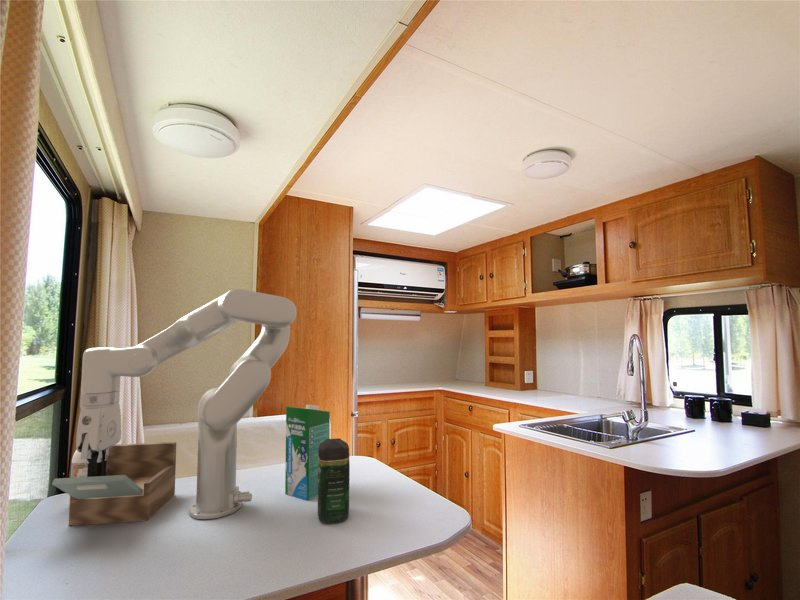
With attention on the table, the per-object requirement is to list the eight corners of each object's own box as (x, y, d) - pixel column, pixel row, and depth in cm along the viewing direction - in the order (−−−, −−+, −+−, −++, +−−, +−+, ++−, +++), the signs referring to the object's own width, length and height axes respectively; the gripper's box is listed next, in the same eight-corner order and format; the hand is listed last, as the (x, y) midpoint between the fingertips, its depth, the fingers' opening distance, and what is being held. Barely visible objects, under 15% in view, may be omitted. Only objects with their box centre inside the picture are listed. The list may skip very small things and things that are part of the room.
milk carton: (329, 489, 119) (330, 403, 121) (307, 500, 111) (308, 408, 113) (307, 484, 124) (308, 401, 126) (284, 494, 116) (285, 405, 118)
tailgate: (143, 489, 102) (125, 474, 93) (140, 497, 100) (122, 483, 92) (78, 493, 100) (54, 478, 91) (75, 501, 98) (50, 487, 90)
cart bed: (174, 495, 116) (176, 441, 118) (147, 520, 101) (150, 458, 102) (106, 499, 114) (109, 444, 115) (68, 525, 98) (71, 462, 99)
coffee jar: (351, 522, 98) (351, 444, 100) (318, 526, 96) (318, 447, 98) (347, 506, 107) (347, 435, 109) (317, 509, 106) (317, 437, 107)
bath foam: (67, 509, 108) (71, 432, 109) (70, 500, 113) (74, 428, 115) (99, 503, 111) (103, 429, 113) (101, 495, 117) (104, 424, 119)
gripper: (98, 404, 89) (94, 490, 88) (133, 394, 104) (130, 467, 103) (61, 405, 88) (56, 492, 87) (102, 395, 103) (98, 469, 102)
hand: (96, 478), depth 95 cm, fingers closed
